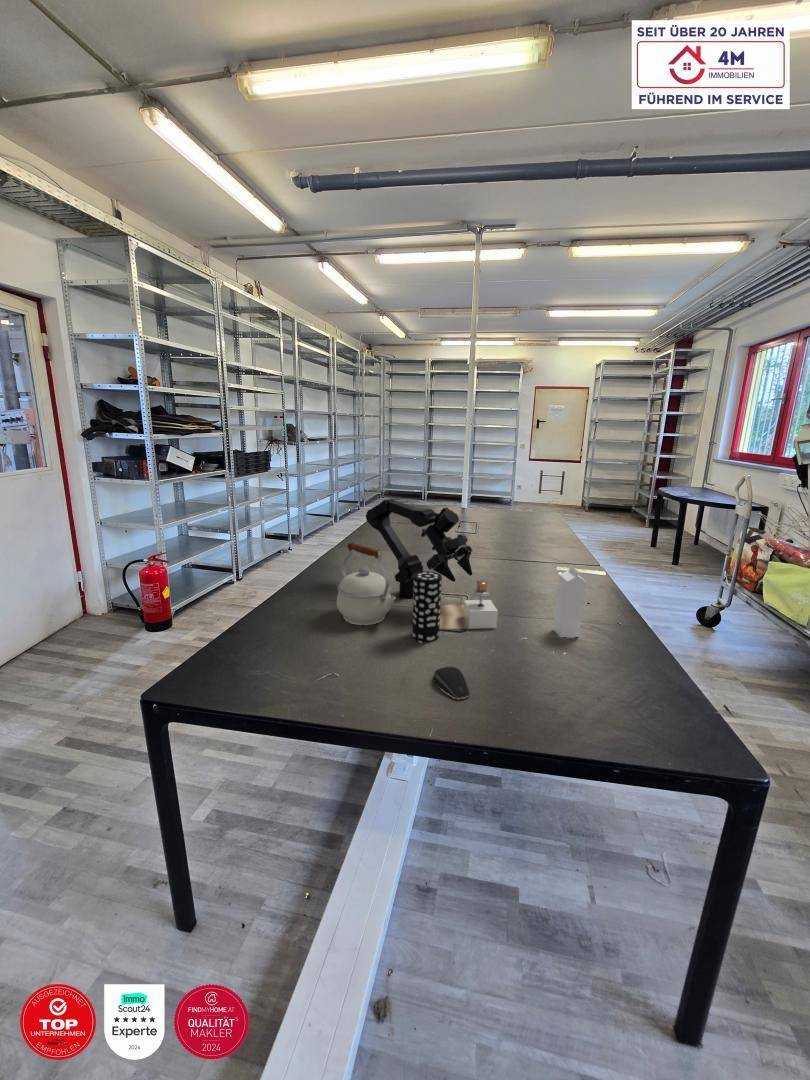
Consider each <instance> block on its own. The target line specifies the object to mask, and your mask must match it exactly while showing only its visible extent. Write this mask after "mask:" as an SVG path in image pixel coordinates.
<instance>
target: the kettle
mask: <svg viewBox="0 0 810 1080" xmlns="http://www.w3.org/2000/svg"><path fill="white" fill-rule="evenodd" d="M347 548H348V549H347V554H346V556H345V557H344V558H343V561H342V563H341V573H342V577H343V579H341V582H340V583H339V584H338V585H337V588H336V589H337V591H338V593H337V597H336V607H337V610H338V611H339V613H340V614H341V615H342V616H343V620H344V619H345V622H347V623H348V622H349V623H348V624H351V625H354V624H355V626H361V625H365V626H372V625H376V623H377V624H379V623H381V622H383V620H385V618H386V615H387V613H389V612H390V609H391V608H392V606H393V604H394V602H395V600H396V596H394V595H391V592H390V591H391V589H392V586H391V584H390V579H389V575H388V573H387V571H386V569H385V567H384V565H383V562H382V556H383V553H382V550H380V549H377V550H376V549H374V548H372V547H369V546H366V545H362V544H357V543H354V542H353V541H350V542H348V543H347ZM352 551H355V552H357V553H360V554H363V555H366V556H370V557H374V558H375V559H377V564H378V567H379V569H380V571H381V573H382V575H381V574H380V573H376V572H374V571H371V569H369V567H366V565H365V566H361V567H360V568H359V569H358V570H357V572H353V573H350V574H348V575H347V572H346V563H347V561H348V560H349V558H350V557H351V555H352V553H353V552H352Z"/></svg>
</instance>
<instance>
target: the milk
mask: <svg viewBox="0 0 810 1080" xmlns="http://www.w3.org/2000/svg"><path fill="white" fill-rule="evenodd" d="M558 576H559V578H558V585H557V586H558V587H557V594H556V602H555V610H554V620H553V628H552V629H554V630H555V631H554V630H553V631H554V633H557V634H558V635H559V636H558V635H557V634H556V635H557V636H558V637H559V638H560V637H580V631H581V623H582V617H583V610H584V609H583V608H584V601H585V594H586V588H587V587H586V586H587V580H585V579H584V578H583V577H582V576H580V575H579V571H578V569H576V568H574V567H573V566H572V565H569V568H568V570H566V571H565V572H562V573H560V574H559V575H558Z"/></svg>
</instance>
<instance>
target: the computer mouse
mask: <svg viewBox="0 0 810 1080" xmlns="http://www.w3.org/2000/svg"><path fill="white" fill-rule="evenodd" d="M434 680H435V682H434V684H435V683H436V684H437V685H438V686H439V687H440V688H441V689H443V690H444V691H445V692H447V693H449V694H450V695H452V696H453V697H455V698H461V697H466V696H469V695H470V696H471V693H470V690H469V686H468V684H467V681H466V679H465V676H464V674H463V672H462V671H461V670H460V669H459V668H457V667H454V666H445V667H441V668H437V669H436V670H435V671H434V674H433V681H434ZM436 684H435V685H436Z"/></svg>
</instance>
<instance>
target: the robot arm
mask: <svg viewBox="0 0 810 1080" xmlns="http://www.w3.org/2000/svg"><path fill="white" fill-rule="evenodd" d="M392 513H393V514H396V515H398V516H401V517H403V518H406V519H408V520H410V522H411V523H412V524H413V525H414V526H417V527H418V528H423V527H426V528H423V529H421V533H420V534H421V535H420V536H421V538H424V537H427V539H428V540H429V542H430V543H431V545H432V547H431V549H432V551H436V554H433V555H432V556H431V557H430V558H429V559H428V560H427V561H426V566H427V568H428V570H429V571H431V570H432V572H436V573H439V574H441V575H442V577H445V578H446V579H447V580H449V581H451V582H452V583H454V582H456V578H455V576H454V574H453V572H452V570H451V569H450V566H449V561H450V560H455V561H457V562H456V563H457V564H458V566H460V568H461V569H462V570H463V571H464V572H465V573H466V574H467V575H469V576H472V575H473V571H472V567H471V563H470V557H471V555H472V552H473V548H472V547H471V546H470V545H467V542H468V541H469V540H468V537H467V536H466V534H465V533H460V534H458V535H457V537H456V538H452V537H451V536H447V534H446V533H449V532H450V531H451V530H452V529H453V528H454V527H455V526H456V524H458V523H459V522H460V518H459V515H458V514H457V513H455V512H454V511H453V510H451V509H449V507H443V508H442V509H441V510H440V512H439V513H437V512H435V511H434V509H432V508H427V507H414V506H411V505H408V504H405V503H404V502H403V503H402V502H400V501H398V500H396V499H393V498H389V499H384V500H382V501H381V502H380V503H378V504H377V505H375V506H374V507H372V508H370V509H368V510H367V511H366V514H365V519H366V522H367V523H368V524H369V525H370V526H371V527H372V528H373V529H374V530H377V531H378V532H379V533H380V535H381V536H382V538H383V539H384V541H385V543H386V544H387V546H388V547H389V549H390V551H391V552H392V554H393V555H394V557H395V558H396V560H397V567H398V568H397V569H398V572H397V573H396V574H394V578H395V582H396V583H399V584H398V587H399V588H398V598H399V599H413V589H414V574H415V573H418V572H423V571H424V567H423V565H422V564H423V562H422V561H421V560H420V558H419V556H418V555H417V554H413V555H412V554H411V553H410V552H409V551H408V550H407V549H406V547H405V546H404V544H403V542H402V541H401V539H400V538H399V536H398V535H397V533H396V531H395V530H394V528H393V526H391V518H390V517H391V514H392Z"/></svg>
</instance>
